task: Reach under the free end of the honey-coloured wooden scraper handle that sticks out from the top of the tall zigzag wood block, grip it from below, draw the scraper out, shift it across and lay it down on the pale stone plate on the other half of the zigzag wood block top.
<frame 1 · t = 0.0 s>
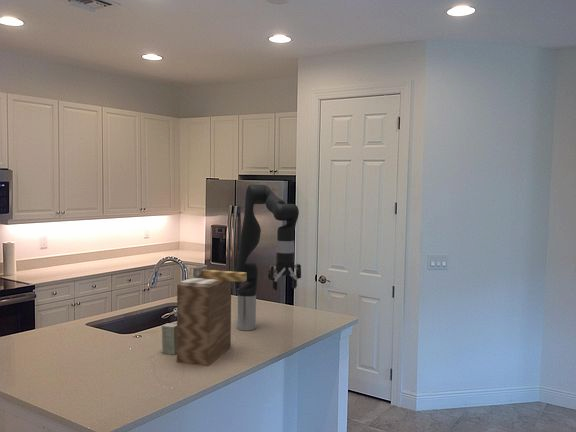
hand: (284, 289, 217), 29 cm above the counter, tool pointing down, fingers open, 8 cm apart
scraper: (245, 281, 219), point 32 cm above the counter, touching zigzag wood block
skincare box: (170, 352, 222), on the counter
zigzag wood block: (204, 354, 220), on the counter
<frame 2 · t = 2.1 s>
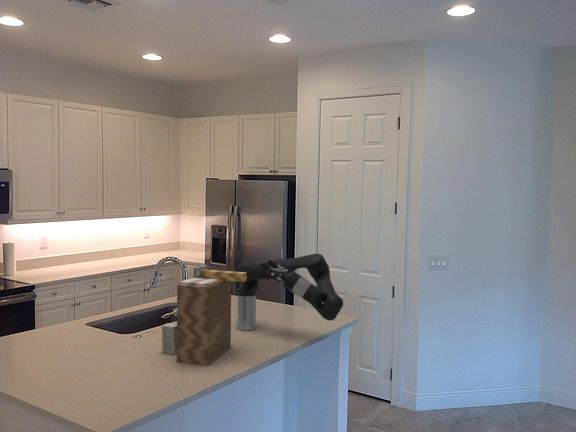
hand: (264, 263, 212), 41 cm above the counter, tool pointing upward, fingers open, 8 cm apart
nothing on the counter moved.
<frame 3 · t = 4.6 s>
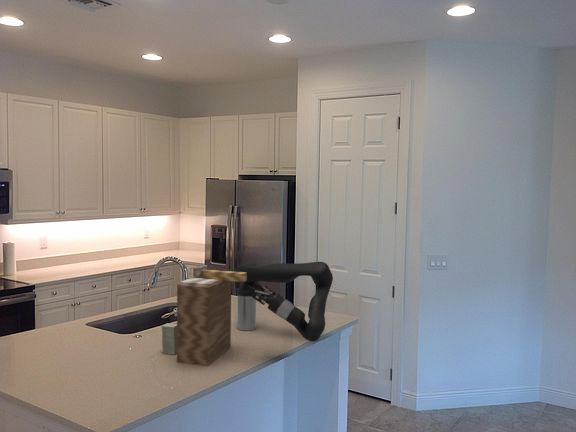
hand: (250, 285, 218), 30 cm above the counter, tool pointing upward, fingers open, 8 cm apart
nothing on the counter moved.
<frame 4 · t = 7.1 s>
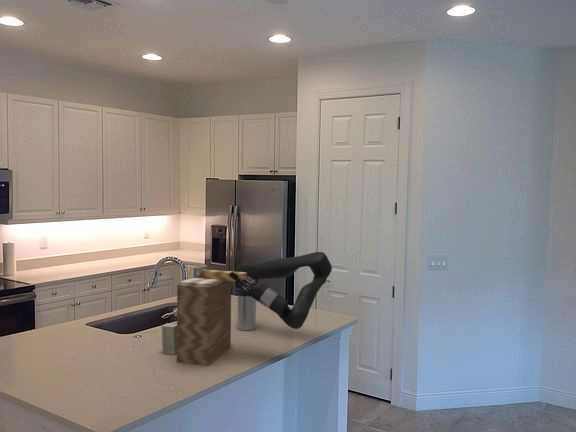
hand: (232, 272, 220), 35 cm above the counter, tool pointing upward, fingers closed on scraper, 3 cm apart
scraper: (245, 281, 219), point 32 cm above the counter, touching zigzag wood block, gripper
everything else where it was.
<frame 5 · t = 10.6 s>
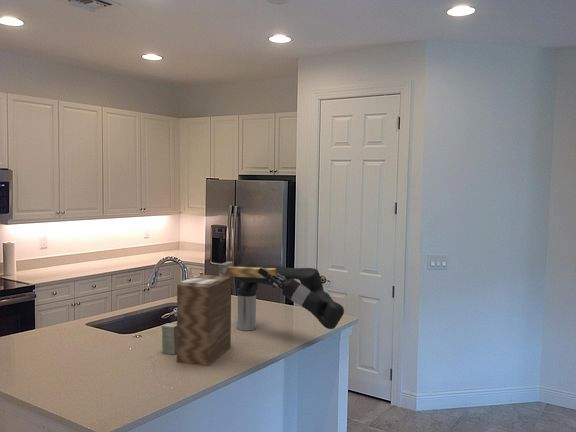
hand: (260, 269, 206), 39 cm above the counter, tool pointing upward, fingers closed on scraper, 3 cm apart
scraper: (275, 277, 205), point 36 cm above the counter, touching gripper
everything else where it was.
when the fingers open (37 cm above the counter, at t = 14.1 s): scraper stays where it is, resting on zigzag wood block.
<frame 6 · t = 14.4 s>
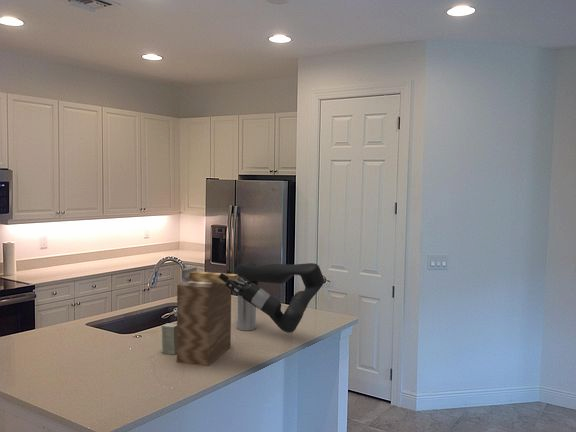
hand: (223, 273, 210), 37 cm above the counter, tool pointing upward, fingers open, 6 cm apart
scraper: (236, 283, 208), point 33 cm above the counter, touching zigzag wood block
everything else where it was.
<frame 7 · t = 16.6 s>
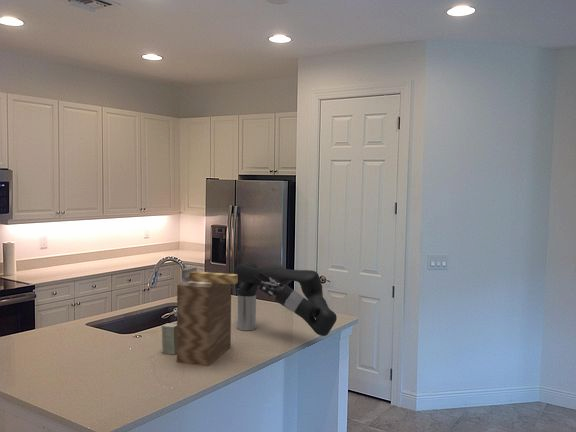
hand: (256, 276, 206), 37 cm above the counter, tool pointing upward, fingers open, 8 cm apart
nothing on the counter moved.
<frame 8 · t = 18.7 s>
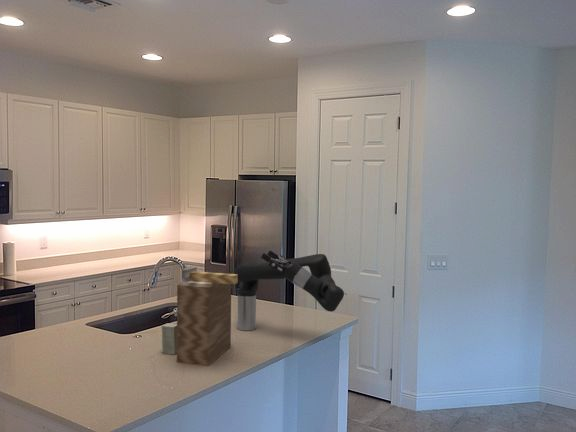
hand: (265, 253, 211), 45 cm above the counter, tool pointing upward, fingers open, 8 cm apart
nothing on the counter moved.
at the end: scraper inside the target area (0.2 cm from its centre), point 33.0 cm above the counter; scraper touching zigzag wood block; the gripper is holding nothing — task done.
